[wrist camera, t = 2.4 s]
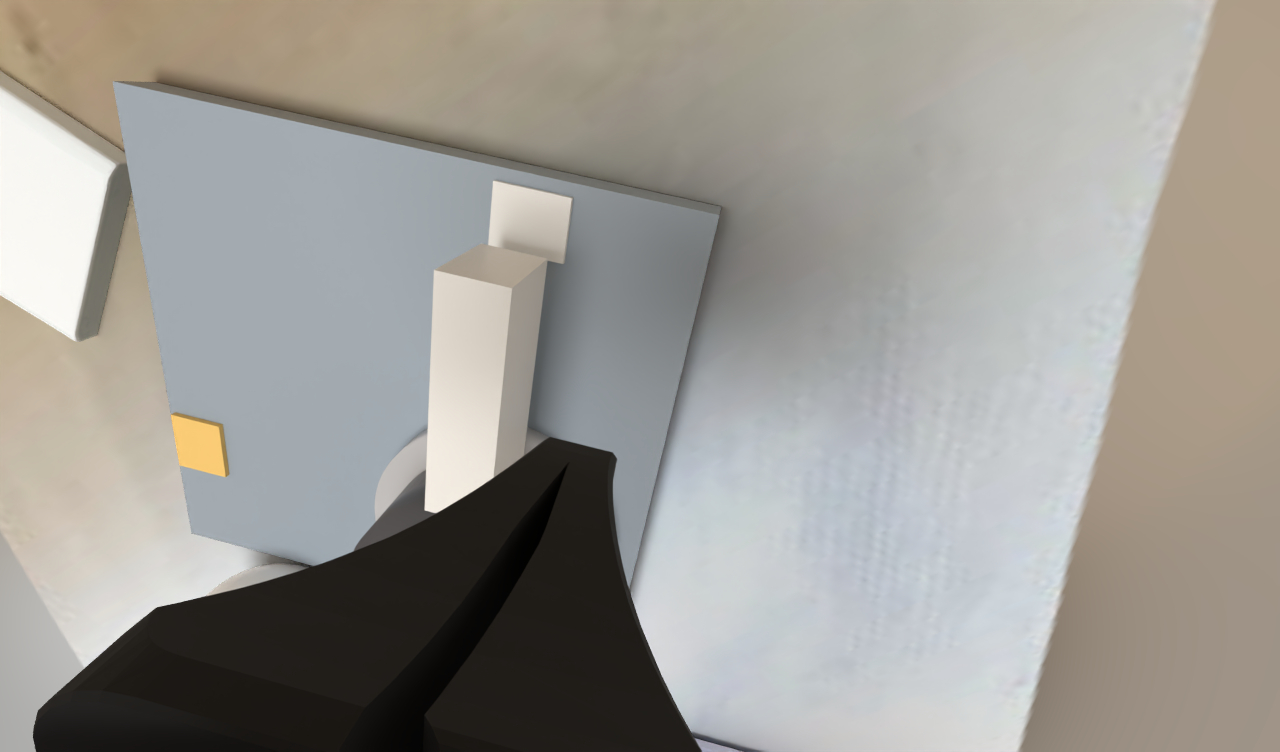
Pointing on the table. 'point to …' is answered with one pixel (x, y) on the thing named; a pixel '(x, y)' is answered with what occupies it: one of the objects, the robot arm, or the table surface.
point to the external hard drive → (57, 212)
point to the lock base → (382, 309)
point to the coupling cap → (474, 380)
